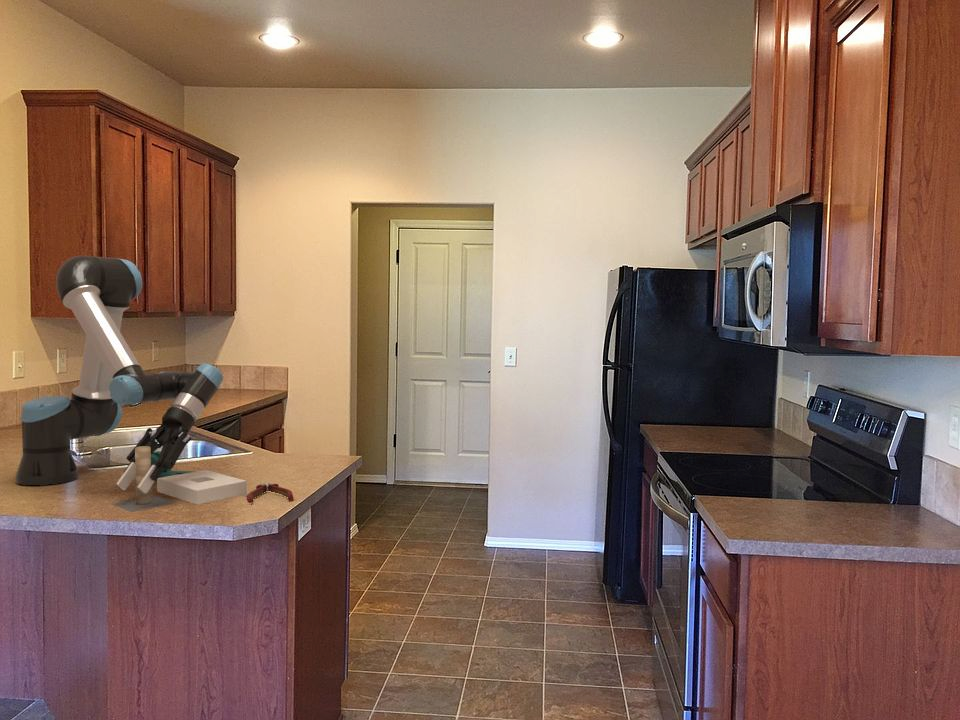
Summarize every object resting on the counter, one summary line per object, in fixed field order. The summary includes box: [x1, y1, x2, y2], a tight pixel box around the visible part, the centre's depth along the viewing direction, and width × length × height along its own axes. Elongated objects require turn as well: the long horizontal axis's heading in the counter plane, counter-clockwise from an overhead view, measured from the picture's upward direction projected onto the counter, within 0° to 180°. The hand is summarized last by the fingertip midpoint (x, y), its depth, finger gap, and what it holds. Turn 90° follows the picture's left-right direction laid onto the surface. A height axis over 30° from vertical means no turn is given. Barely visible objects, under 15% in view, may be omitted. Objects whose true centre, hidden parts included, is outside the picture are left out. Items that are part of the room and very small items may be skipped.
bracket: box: [134, 450, 196, 483], centre depth 203 cm, size 18×7×8 cm, turn 84°
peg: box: [134, 446, 152, 505], centre depth 176 cm, size 4×4×14 cm
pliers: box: [246, 481, 294, 505], centre depth 190 cm, size 12×20×3 cm, turn 21°
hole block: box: [156, 469, 248, 506], centre depth 188 cm, size 20×14×4 cm
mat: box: [111, 494, 177, 513], centre depth 177 cm, size 11×11×1 cm
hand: (131, 488), depth 173 cm, fingers open, 6 cm apart
